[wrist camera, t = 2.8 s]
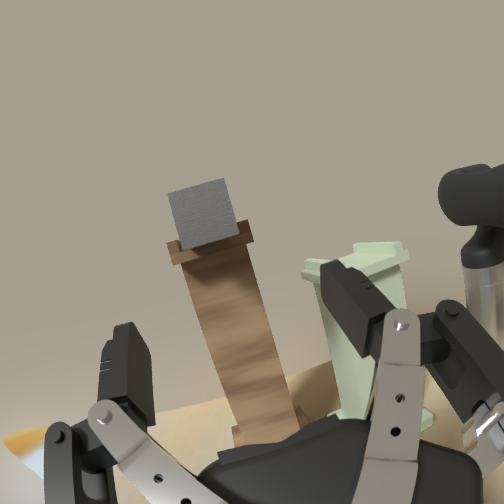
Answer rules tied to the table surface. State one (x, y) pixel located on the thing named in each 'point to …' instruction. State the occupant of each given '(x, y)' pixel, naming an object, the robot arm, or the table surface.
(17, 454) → the table surface
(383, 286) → the pale green pedestal
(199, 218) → the grey block
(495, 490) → the table surface
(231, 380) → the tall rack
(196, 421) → the table surface
